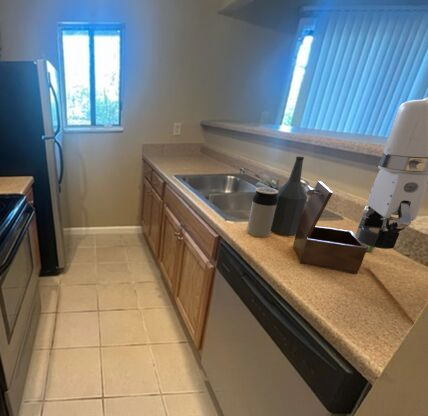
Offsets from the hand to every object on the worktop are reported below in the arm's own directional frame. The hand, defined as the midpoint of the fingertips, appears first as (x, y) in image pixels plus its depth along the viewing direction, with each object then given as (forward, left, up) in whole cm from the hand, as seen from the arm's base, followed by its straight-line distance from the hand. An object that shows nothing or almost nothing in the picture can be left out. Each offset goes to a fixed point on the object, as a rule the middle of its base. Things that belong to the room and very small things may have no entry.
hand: (376, 239), depth 63 cm
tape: (0, 0, -1) cm, 1 cm away
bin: (+1, -24, -19) cm, 30 cm away
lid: (+6, -24, -2) cm, 25 cm away
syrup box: (-14, -39, -19) cm, 46 cm away
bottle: (+10, -43, -19) cm, 48 cm away
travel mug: (+19, -37, -19) cm, 45 cm away
